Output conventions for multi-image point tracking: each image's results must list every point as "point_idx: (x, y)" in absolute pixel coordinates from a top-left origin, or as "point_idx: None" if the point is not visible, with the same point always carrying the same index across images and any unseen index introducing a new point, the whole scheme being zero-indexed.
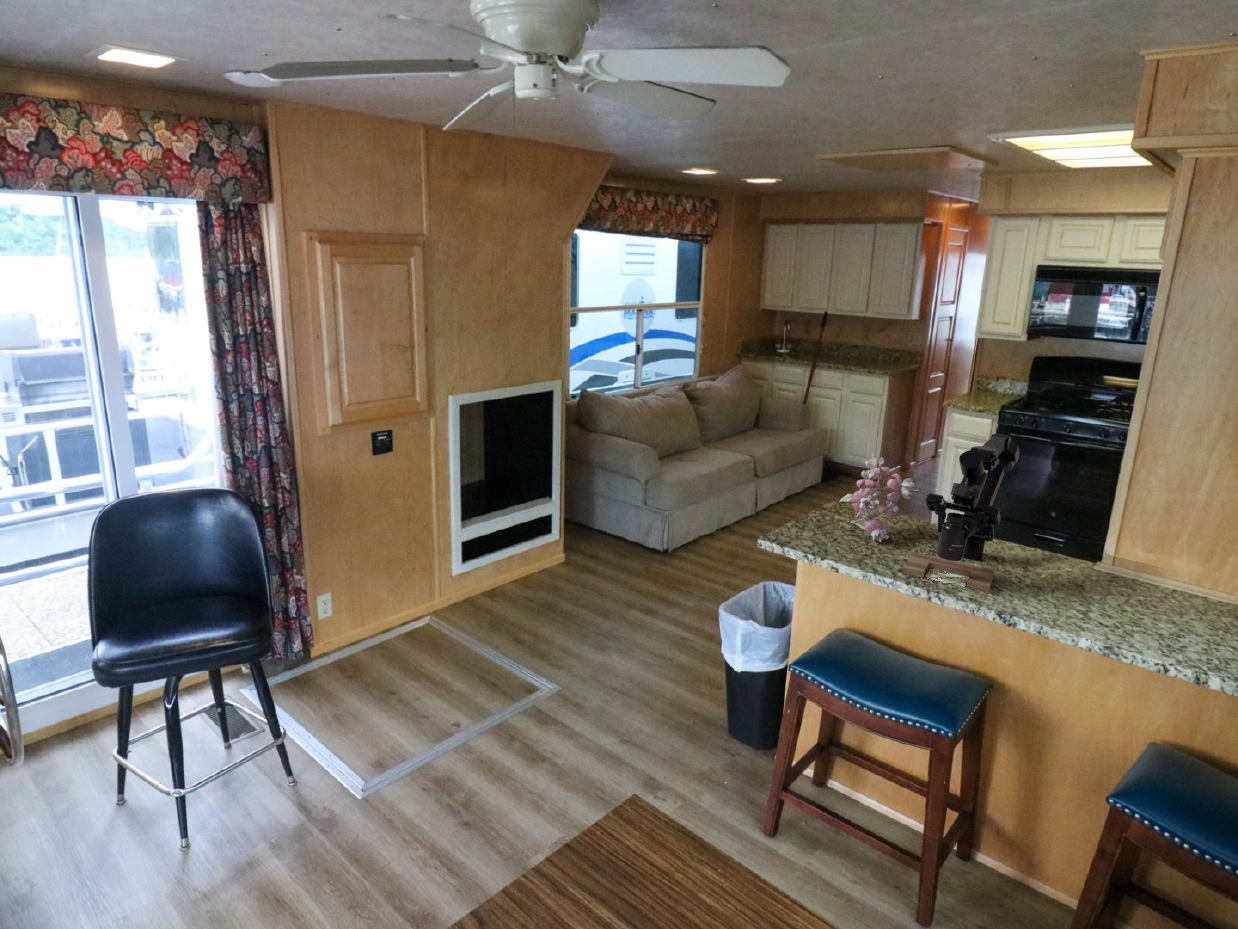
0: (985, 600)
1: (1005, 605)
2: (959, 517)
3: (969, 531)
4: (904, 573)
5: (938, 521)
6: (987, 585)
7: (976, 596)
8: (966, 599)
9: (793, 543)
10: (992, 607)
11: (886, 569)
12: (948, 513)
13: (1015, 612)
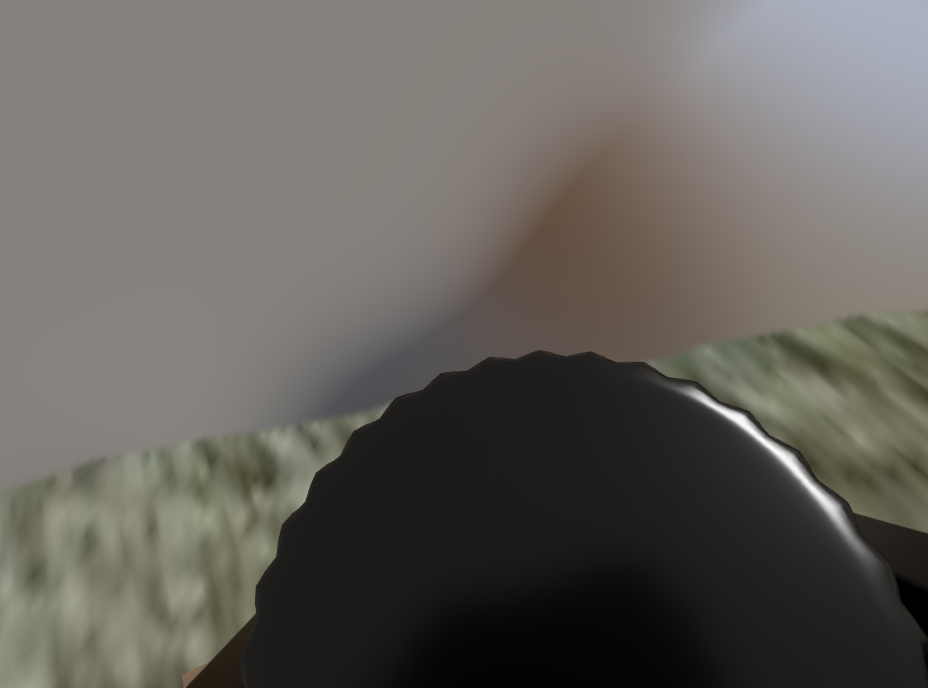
0: (196, 529)
1: (83, 569)
2: (395, 491)
3: (225, 664)
4: None
5: (880, 523)
6: (199, 671)
7: (254, 538)
8: (282, 444)
9: None
10: (142, 471)
11: (801, 425)
12: (868, 550)
13: (22, 522)
